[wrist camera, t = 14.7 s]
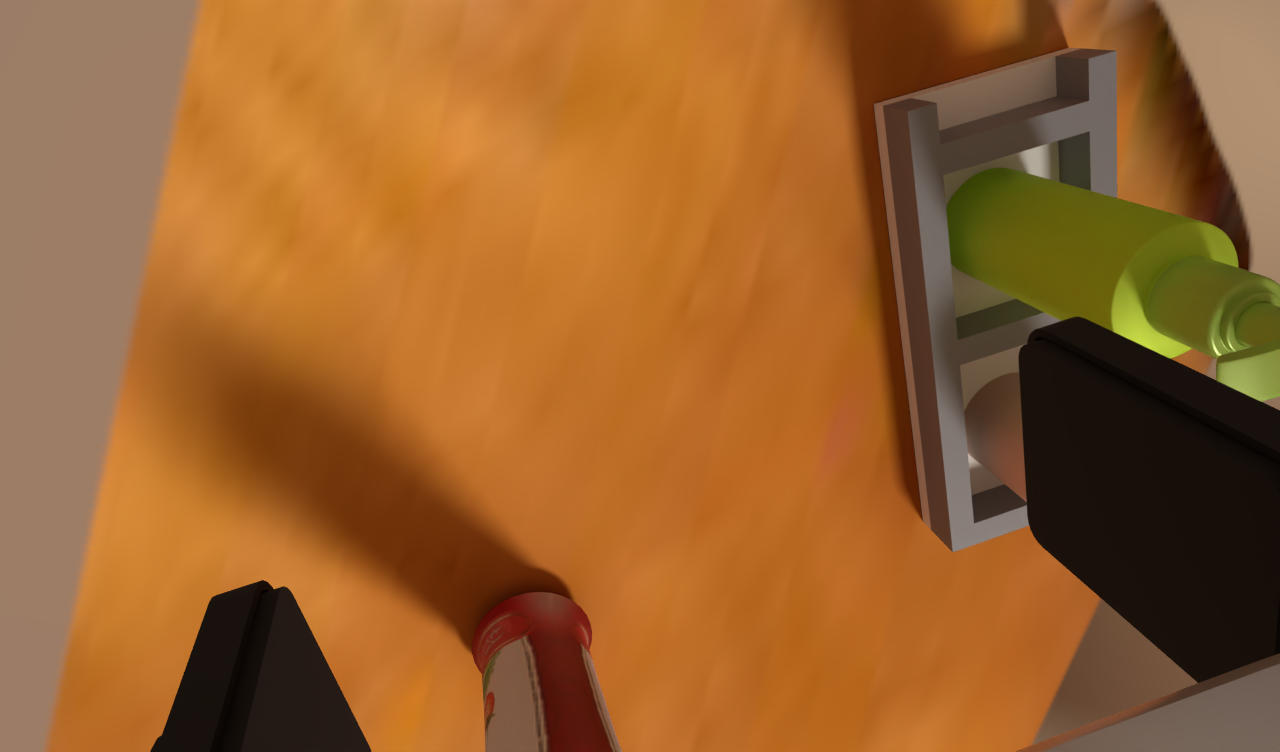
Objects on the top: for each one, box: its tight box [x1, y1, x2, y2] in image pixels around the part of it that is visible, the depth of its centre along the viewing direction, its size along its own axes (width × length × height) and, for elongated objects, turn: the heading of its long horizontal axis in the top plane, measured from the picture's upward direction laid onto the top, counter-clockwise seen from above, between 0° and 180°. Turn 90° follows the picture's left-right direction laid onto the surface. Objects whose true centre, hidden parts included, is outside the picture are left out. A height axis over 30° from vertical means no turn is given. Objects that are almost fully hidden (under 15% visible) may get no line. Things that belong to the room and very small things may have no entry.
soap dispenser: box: [946, 168, 1280, 401], centre depth 39 cm, size 6×7×20 cm
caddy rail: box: [874, 48, 1117, 552], centre depth 46 cm, size 26×11×12 cm, turn 14°
